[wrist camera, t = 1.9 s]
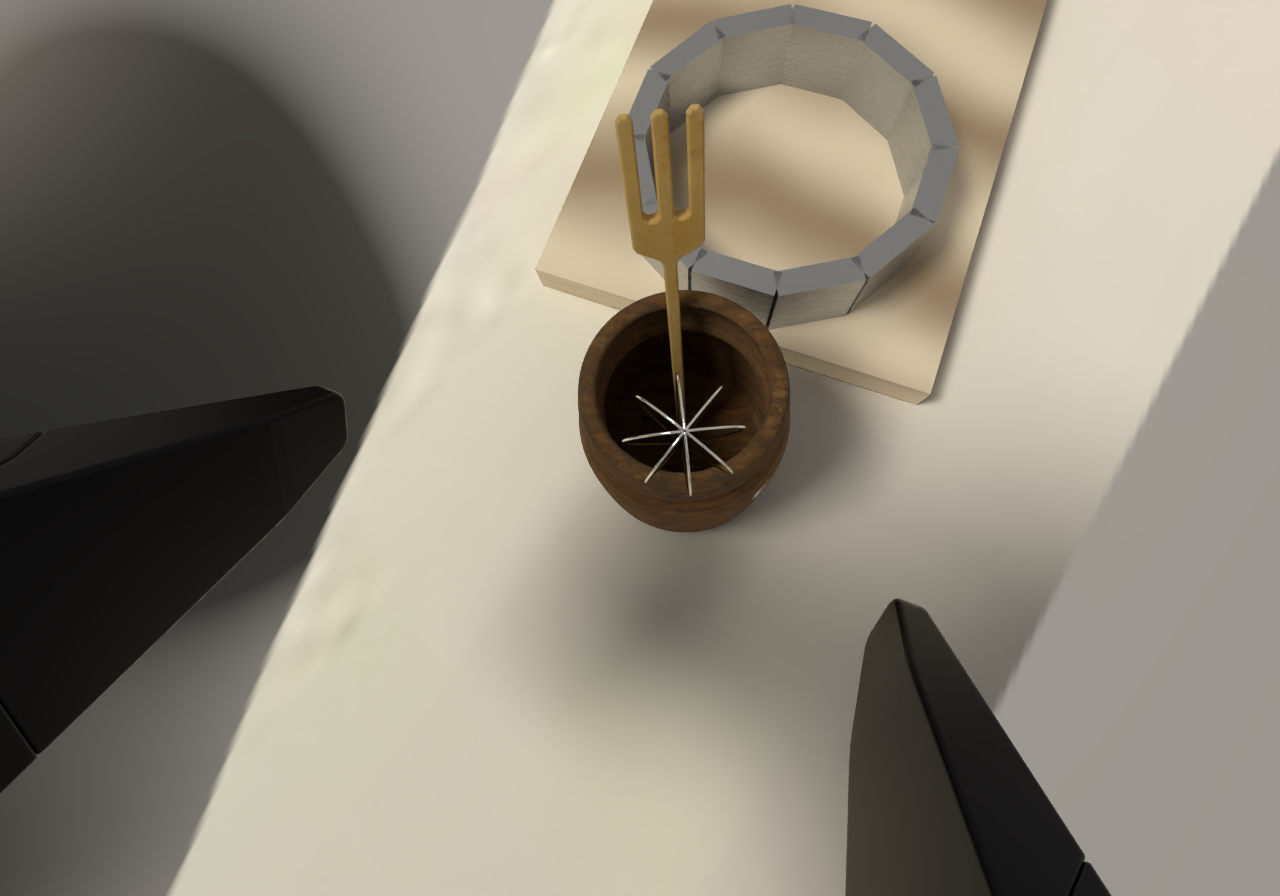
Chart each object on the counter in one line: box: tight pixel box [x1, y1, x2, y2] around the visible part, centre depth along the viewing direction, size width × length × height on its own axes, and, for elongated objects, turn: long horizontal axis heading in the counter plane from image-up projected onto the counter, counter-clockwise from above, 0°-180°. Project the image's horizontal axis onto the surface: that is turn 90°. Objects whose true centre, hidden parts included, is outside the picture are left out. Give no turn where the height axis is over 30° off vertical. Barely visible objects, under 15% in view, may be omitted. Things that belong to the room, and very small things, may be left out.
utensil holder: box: [578, 104, 790, 532], centre depth 16 cm, size 6×6×12 cm
